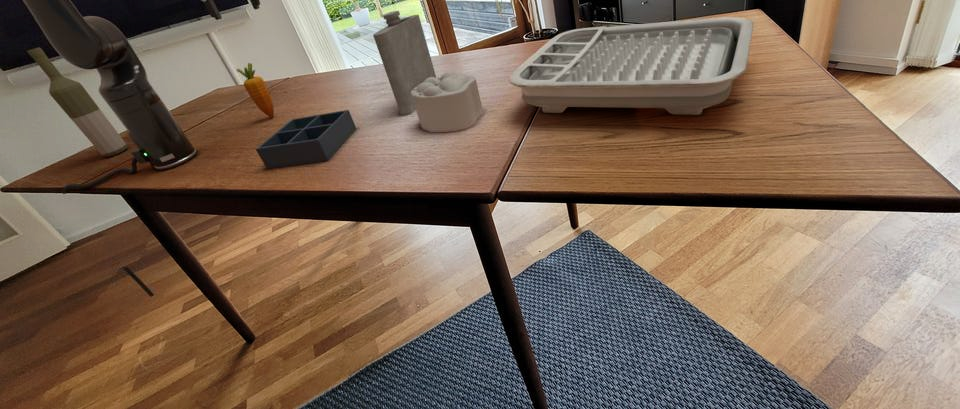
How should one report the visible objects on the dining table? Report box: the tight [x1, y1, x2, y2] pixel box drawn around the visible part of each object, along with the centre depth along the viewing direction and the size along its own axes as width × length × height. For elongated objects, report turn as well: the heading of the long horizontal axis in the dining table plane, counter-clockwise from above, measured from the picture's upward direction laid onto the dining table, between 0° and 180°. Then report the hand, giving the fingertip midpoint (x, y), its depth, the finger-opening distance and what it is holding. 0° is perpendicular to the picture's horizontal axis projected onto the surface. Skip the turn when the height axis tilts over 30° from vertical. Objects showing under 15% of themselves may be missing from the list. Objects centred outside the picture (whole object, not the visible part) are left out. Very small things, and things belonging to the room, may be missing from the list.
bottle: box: [26, 47, 128, 158], centre depth 112 cm, size 7×7×30 cm
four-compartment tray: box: [255, 109, 357, 170], centre depth 86 cm, size 14×14×5 cm
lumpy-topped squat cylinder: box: [411, 71, 484, 133], centre depth 81 cm, size 10×13×9 cm
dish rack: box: [508, 16, 754, 116], centre depth 74 cm, size 32×37×8 cm
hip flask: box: [372, 10, 437, 116], centre depth 93 cm, size 16×4×20 cm, turn 156°
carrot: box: [236, 62, 275, 119], centre depth 110 cm, size 5×5×15 cm
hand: (238, 14), depth 90 cm, fingers open, 8 cm apart
